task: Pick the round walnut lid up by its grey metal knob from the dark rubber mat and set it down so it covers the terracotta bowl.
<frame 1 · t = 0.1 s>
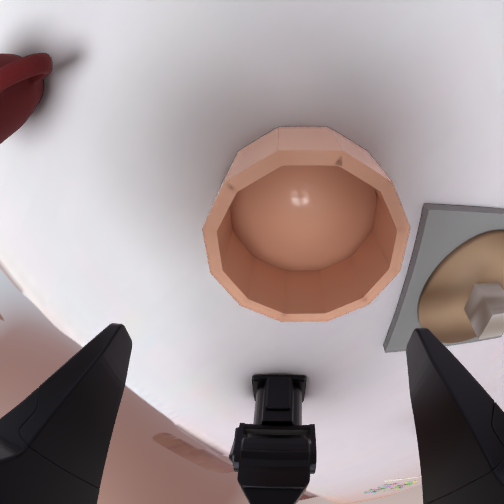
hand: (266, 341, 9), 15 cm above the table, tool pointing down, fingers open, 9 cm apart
mug: (38, 79, 17), on the table
lid: (478, 290, 24), point 1 cm above the table, touching mat
printed paper: (391, 485, 85), on the table
bowl: (303, 207, 22), on the table
mat: (474, 283, 25), on the table
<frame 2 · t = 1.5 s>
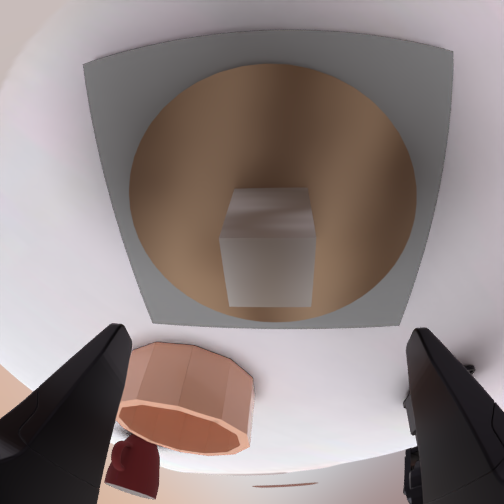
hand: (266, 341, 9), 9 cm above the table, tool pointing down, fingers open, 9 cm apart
mug: (139, 434, 40), on the table
lid: (272, 211, 15), point 1 cm above the table, touching mat
bowl: (189, 382, 27), on the table
mat: (272, 202, 16), on the table
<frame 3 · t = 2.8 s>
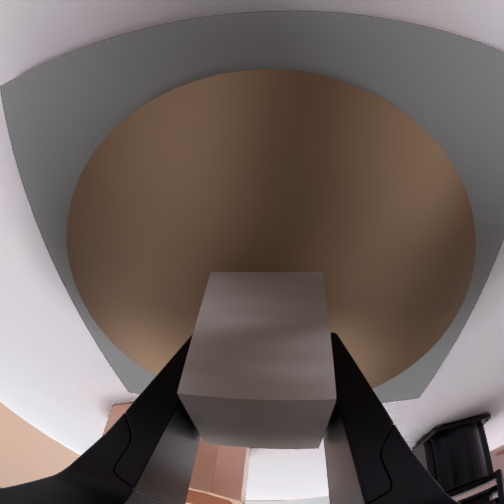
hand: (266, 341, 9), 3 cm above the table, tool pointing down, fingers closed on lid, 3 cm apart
lid: (269, 294, 10), point 1 cm above the table, touching gripper, mat
bowl: (178, 436, 22), on the table
mat: (270, 275, 11), on the table
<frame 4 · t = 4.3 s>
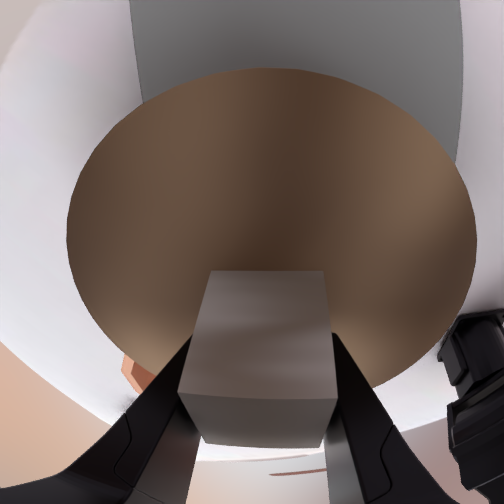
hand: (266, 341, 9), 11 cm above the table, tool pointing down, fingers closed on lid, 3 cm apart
lid: (269, 293, 10), point 9 cm above the table, touching gripper
bowl: (211, 335, 26), on the table
mat: (309, 99, 14), on the table
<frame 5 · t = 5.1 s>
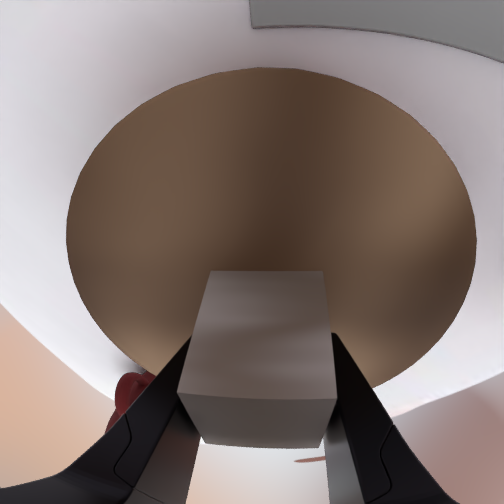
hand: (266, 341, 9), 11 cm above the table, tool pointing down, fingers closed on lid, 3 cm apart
mug: (158, 370, 31), on the table
lid: (269, 293, 10), point 9 cm above the table, touching gripper
when the fingers open (9 cm above the table, at t = 5.7 s): lid drops 1 cm, resting on bowl.
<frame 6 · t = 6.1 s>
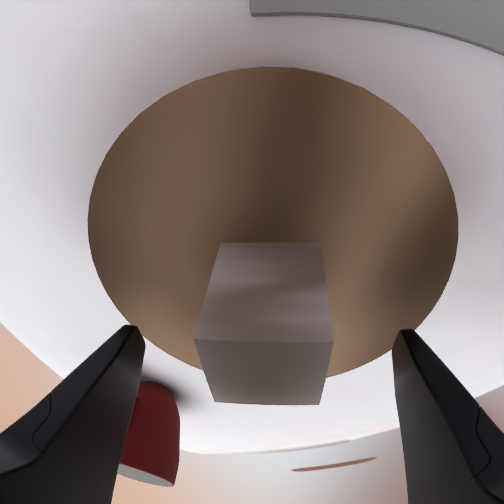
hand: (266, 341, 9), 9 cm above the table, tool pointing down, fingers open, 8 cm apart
mug: (150, 383, 29), on the table
lid: (271, 266, 12), point 5 cm above the table, touching bowl
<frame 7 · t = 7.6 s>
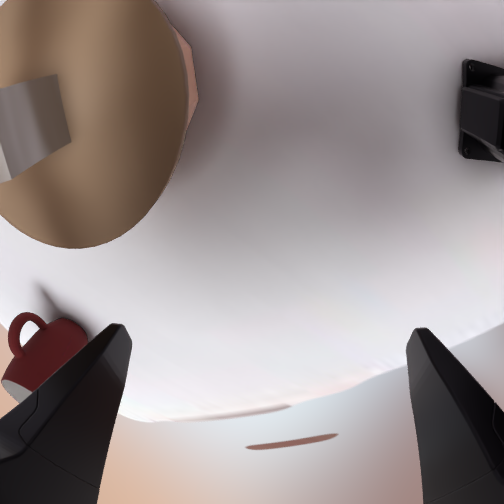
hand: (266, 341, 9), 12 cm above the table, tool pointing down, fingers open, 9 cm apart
mug: (66, 321, 28), on the table
lid: (48, 113, 11), point 5 cm above the table, touching bowl
bowl: (102, 95, 15), on the table, touching lid
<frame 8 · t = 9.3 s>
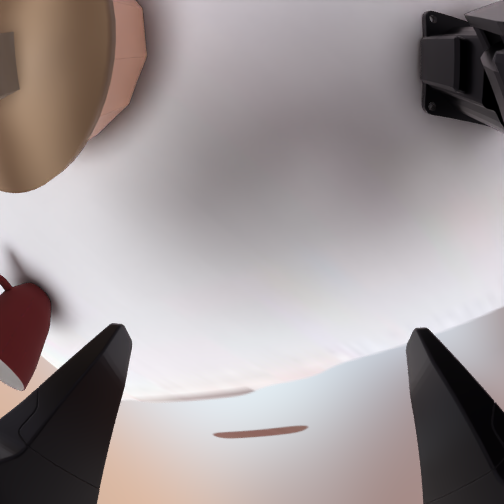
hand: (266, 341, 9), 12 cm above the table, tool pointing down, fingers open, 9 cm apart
mug: (32, 286, 27), on the table
lid: (7, 68, 10), point 5 cm above the table, touching bowl
bowl: (64, 58, 14), on the table, touching lid
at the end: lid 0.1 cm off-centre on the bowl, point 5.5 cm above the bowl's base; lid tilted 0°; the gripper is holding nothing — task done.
